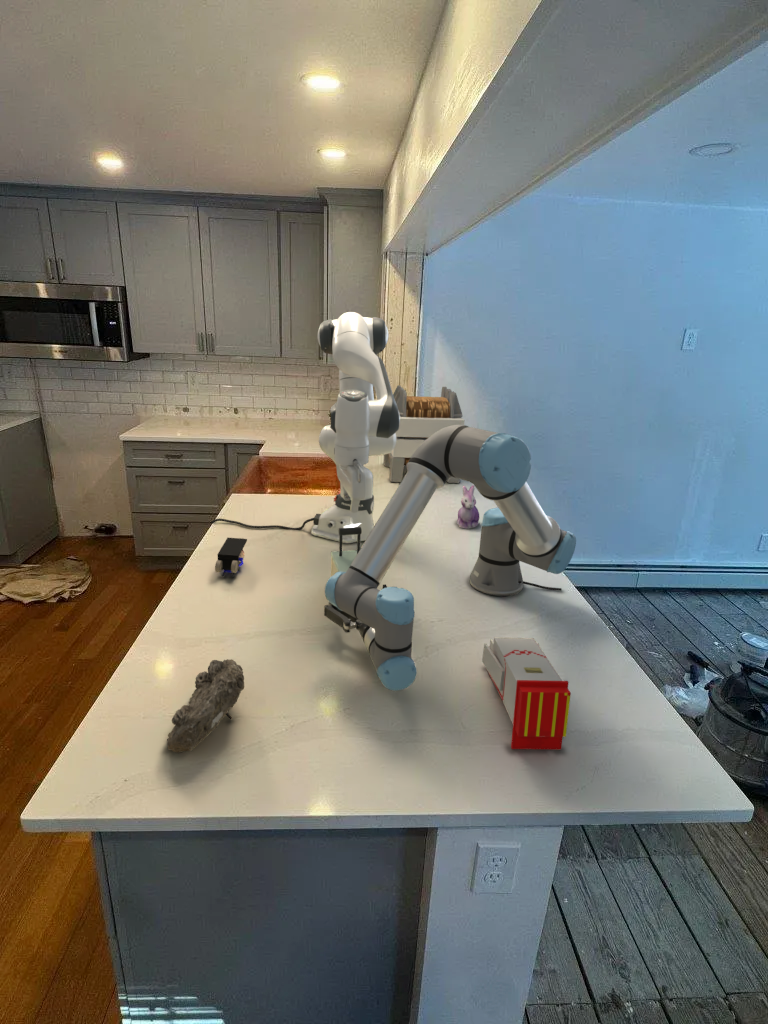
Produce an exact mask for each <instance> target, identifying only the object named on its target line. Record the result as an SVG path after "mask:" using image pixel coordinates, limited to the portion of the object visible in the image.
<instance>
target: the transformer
mask: <svg viewBox="0 0 768 1024" xmlns="http://www.w3.org/2000/svg"><path fill="white" fill-rule="evenodd" d="M440 393H441V394H440V396H415V395H414V396H413V395H412V396H411V395H407V394H408V393H407V390H406V389H404V388H403V387H402V385H399V384H398V385H397V386H396V388H395V390H394V392H393V397H394V400H395V402H396V404H397V407H398V410H399V414H400V425H399V429H398V431H397V432H396V438H397V441H396V445H395V448H394V449H393V451H392V452H391V453H388V454H384V455H383V466H384V467H388V468H389V475H388V476H389V477H388V478H389V480H390V482H391V483H401V482H402V480H403V475H404V469H405V466H406V465H407V463H408V461H409V460H410V458H411V457H412V455H413V454H414V452H415V451H416V450H417V448H418V447H419V446H420V445H421V444H422V443H423V442H424V441H425V440H426V439H428V438H429V437H430V436H431V435H433V434H434V433H436V432H437V431H439V430H441V429H443V428H445V427H448V426H452V425H465V419H464V418H463V411H462V408H461V405H460V402H459V398H458V395H457V392H455V391H453V390H452V389H451V388H447V386H442V387H441V392H440ZM446 482H447V483H449V484H455V483H456V484H459V483H461V479H458V478H455V477H450V478H449V479H447V481H446Z"/></svg>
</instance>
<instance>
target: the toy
mask: <svg viewBox="0 0 768 1024" xmlns="http://www.w3.org/2000/svg"><path fill="white" fill-rule="evenodd" d="M481 662H482V664H483V665H484V667H485V670H486V671H487V673H488V675H489V677H490V679H491V681H492V683H493V685H494V687H495V688H496V691H497V692H498V694H499V697H500V698H501V701H502V703H503V705H504V708H505V710H506V712H507V715H508V717H509V719H510V722H511V723H512V731H511V732H512V733H511V744H510V749H511V750H552V751H553V750H556V751H557V750H561V751H562V746H563V738H566V737H567V730H568V723H569V712H570V703H571V696H572V695H571V694H572V693H571V691H570V690H569V681H568V680H563V679H562V678H561V676H560V675H559V673H558V672H557V670H556V669H555V667H554V666H553V665H552V663H551V661H550V660H549V658H548V657H547V655H546V654H545V652H544V650H543V649H542V647H541V645H540V643H539V642H537V641H536V639H535V638H534V637H503V636H502V637H497V636H496V637H495V636H494V637H493V638H490V640H489V644H488V643H484V644H483V651H482V659H481Z"/></svg>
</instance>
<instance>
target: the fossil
mask: <svg viewBox="0 0 768 1024" xmlns="http://www.w3.org/2000/svg"><path fill="white" fill-rule="evenodd" d="M243 670H244V669H243V667H242V665H240V664H237V662H236V661H235V660H234V659H232V658H231V659H227V658H226V659H224V660H223V661H222V660H217V659H212V660H211V661H210V663H209V665H208V666H207V671H201V672H199V673H198V674H197V675H196V676H195V680H194V684H195V685H194V687H195V689H194V690H193V693H192V694H191V697H190V698H189V700H188V704H184V705H182V706H181V707H180V709H177V710H176V711H175V713H174V715H173V716H172V718H171V723H172V724H173V727H172V730H171V731H170V732H168V734H167V738H166V741H167V742H166V745H167V749H168V750H169V751H173V752H174V753H176V754H178V753H182V752H188V751H189V752H192V751H193V750H195V748H196V747H197V746H199V744H200V743H201V742H203V741H204V740H205V739H206V738H207V737H208V736H209V735H210V734H211V733H212V732H214V730H215V729H217V727H218V726H219V724H220V722H221V721H222V720H223V719H224V718H225V716H226V717H227V719H229V720H233V717H232V715H230V714H229V710H230V709H231V708H234V706H235V704H236V703H237V702H238V699H239V697H240V695H241V693H242V691H243V690H245V689H244V688H245V675H244V671H243Z"/></svg>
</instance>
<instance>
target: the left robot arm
mask: <svg viewBox="0 0 768 1024" xmlns="http://www.w3.org/2000/svg"><path fill="white" fill-rule="evenodd" d="M387 326H388V325H387V324H386V321H385V320H384V319H383V318H381V317H376V316H372V317H368V316H367V317H366V316H362V314H360V313H358V312H355V311H348V312H344V313H342V314H341V315H339V316H338V318H336V319H332V318H330V319H326V320H324V321H322V322H321V323H320V324H319V328H318V331H317V342H318V345H319V347H320V350H321V351H322V352H323V353H324V354H328V355H332V359H333V362H334V364H335V366H336V367H337V369H338V389H339V393H338V395H337V398H336V399H337V400H336V402H335V403H334V404H332V405H331V407H330V408H329V411H330V424H328V425H325V426H324V427H322V429H321V430H320V432H319V435H318V444H319V447H320V450H321V451H322V452H323V454H325V455H326V456H327V457H329V458H330V459H331V460H332V462H333V463H334V464H335V467H336V476H337V480H338V481H339V483H340V484H339V485H340V488H339V489H340V490H339V491H338V492H337V494H336V495H335V496H334V497H333V502H334V504H333V505H331V506H329V507H328V508H326V509H325V510H323V512H321V513H315V515H314V517H312V518H309V519H306V520H305V521H304V522H303V523H302V525H301V526H299V527H289V526H284V525H279V524H277V525H276V524H275V525H273V524H271V525H250V524H246V523H242V522H241V521H236V520H231V519H226V518H214V519H213V520H212V521H211V522H210V524H214V523H216V522H225V523H230V524H235V525H239V526H242V527H245V528H250V529H283V530H293V531H301V530H303V529H304V527H305V526H306V524H308V523H310V522H312V521H313V524H312V525H313V526H312V528H311V530H310V533H311V536H315V537H319V538H323V539H326V540H330V541H336V542H339V528H351V527H361V529H362V533H361V534H360V542H365V541H366V539H367V537H368V536H369V534H370V532H371V531H372V529H373V528H374V526H375V523H374V513H373V512H374V509H375V496H374V474H373V472H372V471H371V469H369V468H368V467H366V466H364V465H366V464H368V463H369V458H370V457H380V456H384V454H388V453H391V452H392V451H393V449H394V448H395V445H396V441H397V438H396V432H397V431H398V429H399V425H400V414H399V410H398V407H397V404H396V402H395V400H394V397H393V394H394V392H393V390H392V386H391V383H390V378H389V375H388V372H387V368H386V365H385V363H384V361H383V359H382V358H381V357H380V356H378V354H380V353H382V352H383V351H384V350H385V348H386V347H387V343H388V341H389V329H388V327H387ZM374 392H375V395H374ZM375 396H376V399H375ZM357 535H358V534H356V535H342V544H352V543H357Z"/></svg>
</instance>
